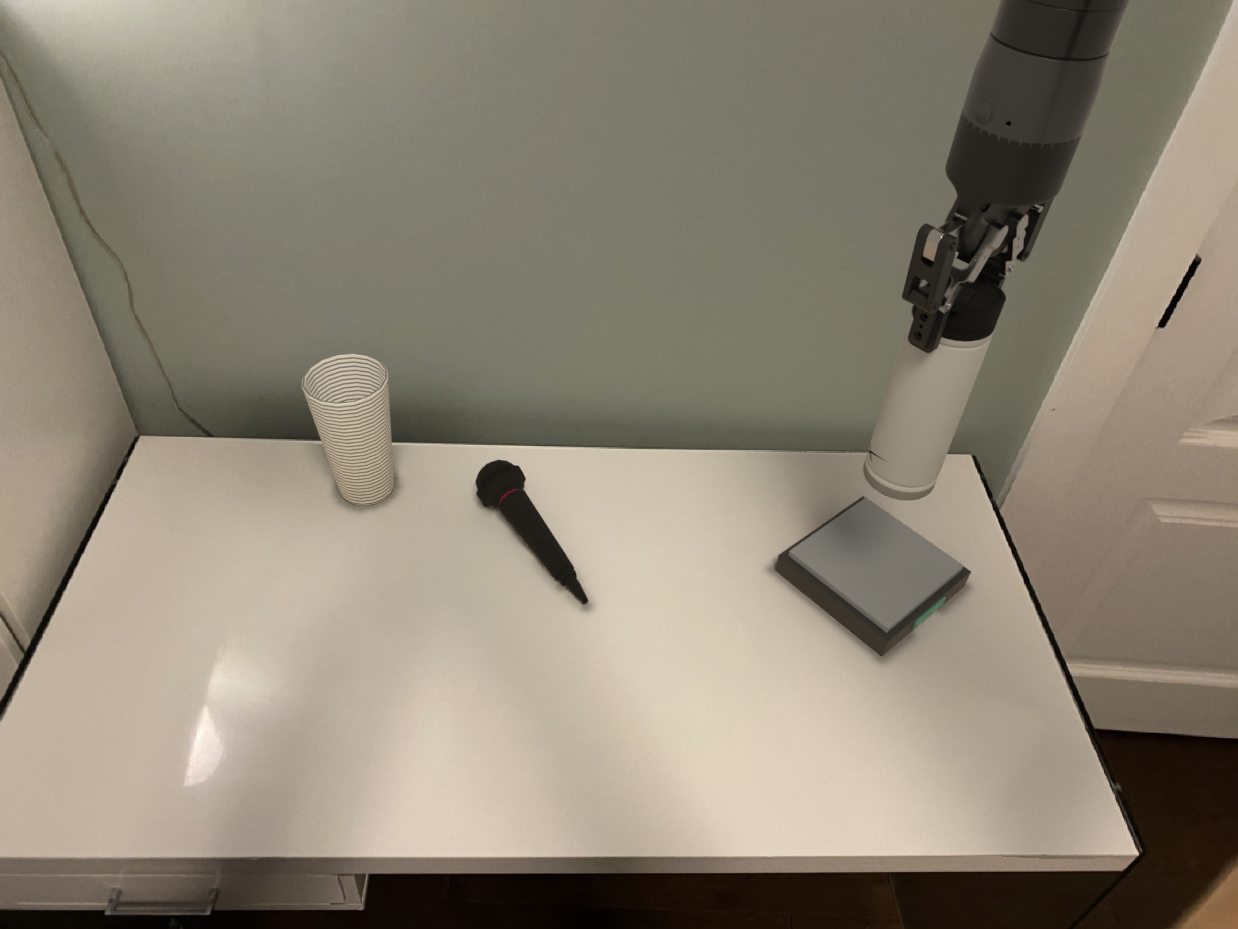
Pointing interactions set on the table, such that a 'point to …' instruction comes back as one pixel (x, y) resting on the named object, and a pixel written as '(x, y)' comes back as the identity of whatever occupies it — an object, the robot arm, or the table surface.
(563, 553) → the microphone
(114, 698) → the table surface
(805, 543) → the scale
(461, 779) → the table surface
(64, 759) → the table surface
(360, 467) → the cup
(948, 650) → the table surface
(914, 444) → the travel mug
